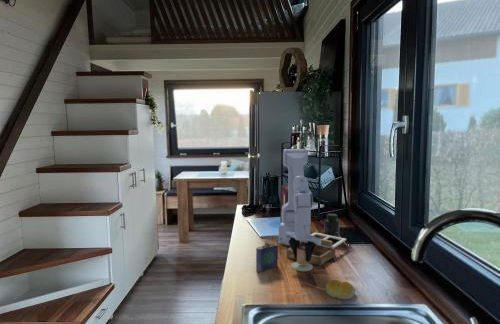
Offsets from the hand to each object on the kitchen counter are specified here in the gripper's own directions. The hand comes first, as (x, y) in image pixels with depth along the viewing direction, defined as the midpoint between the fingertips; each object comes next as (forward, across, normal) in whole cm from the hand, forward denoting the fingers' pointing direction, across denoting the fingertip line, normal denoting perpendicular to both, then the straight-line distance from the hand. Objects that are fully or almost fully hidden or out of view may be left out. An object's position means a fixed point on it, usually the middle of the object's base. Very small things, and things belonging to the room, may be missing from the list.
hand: (302, 259), depth 136 cm
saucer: (+3, 0, 0) cm, 3 cm away
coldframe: (+3, -2, +12) cm, 12 cm away
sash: (-1, -3, +23) cm, 23 cm away
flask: (+3, -10, -9) cm, 14 cm away
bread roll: (+4, +20, -10) cm, 23 cm away
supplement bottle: (+3, -5, +36) cm, 37 cm away
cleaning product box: (+4, -32, +45) cm, 55 cm away
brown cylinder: (+1, 0, 0) cm, 1 cm away
